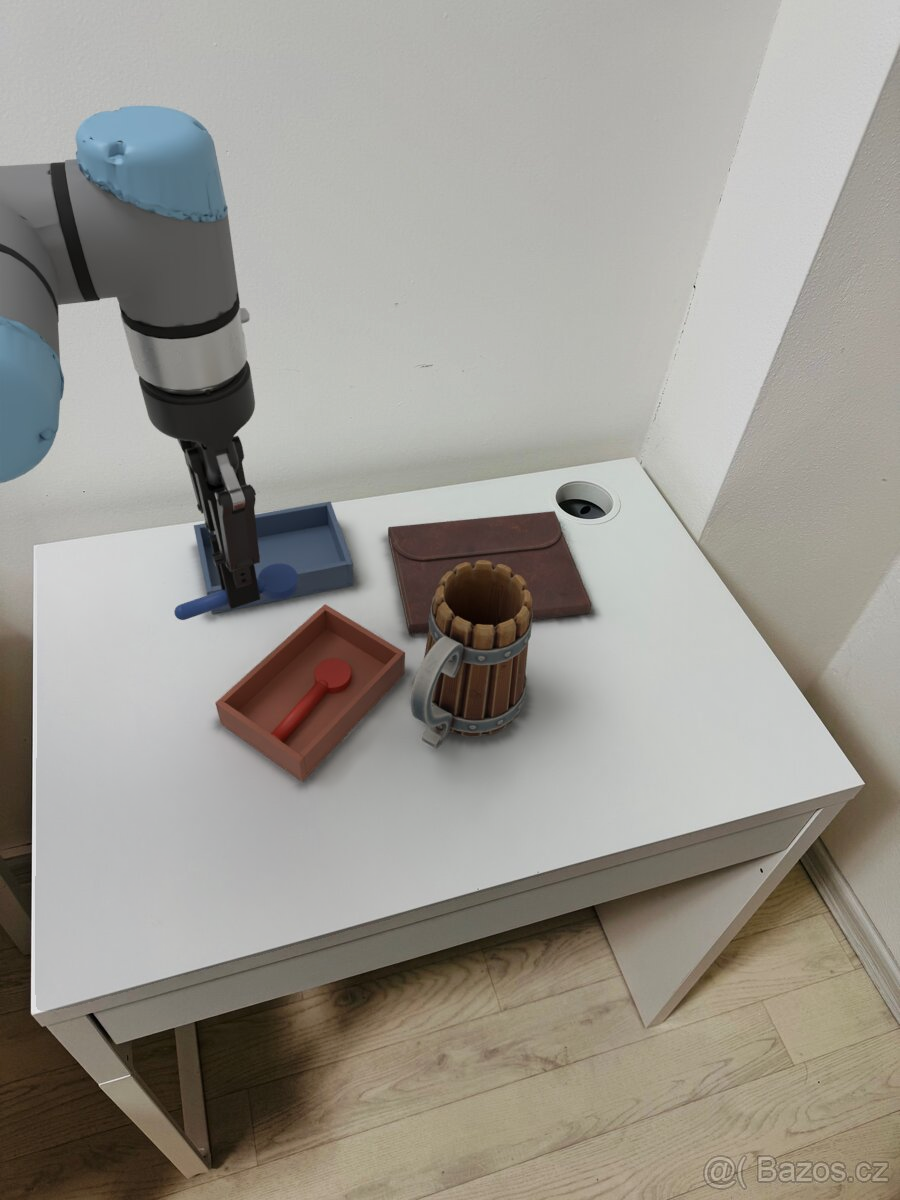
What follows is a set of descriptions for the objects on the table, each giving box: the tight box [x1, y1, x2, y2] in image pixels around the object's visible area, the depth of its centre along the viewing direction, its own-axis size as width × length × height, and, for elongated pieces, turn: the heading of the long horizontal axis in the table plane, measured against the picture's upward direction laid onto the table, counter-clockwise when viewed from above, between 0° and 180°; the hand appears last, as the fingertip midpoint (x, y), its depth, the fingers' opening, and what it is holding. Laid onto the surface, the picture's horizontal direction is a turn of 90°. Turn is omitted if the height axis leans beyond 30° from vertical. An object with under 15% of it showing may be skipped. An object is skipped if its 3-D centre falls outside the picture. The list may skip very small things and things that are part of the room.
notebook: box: [387, 510, 592, 635], centre depth 93 cm, size 15×20×2 cm
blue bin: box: [193, 501, 354, 615], centre depth 91 cm, size 15×10×4 cm
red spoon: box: [271, 658, 352, 742], centre depth 79 cm, size 11×4×1 cm, turn 149°
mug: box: [410, 560, 533, 749], centre depth 75 cm, size 16×11×15 cm
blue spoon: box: [174, 563, 299, 621], centre depth 75 cm, size 11×4×1 cm, turn 118°
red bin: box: [214, 603, 406, 783], centre depth 80 cm, size 15×10×4 cm
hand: (240, 593), depth 75 cm, fingers closed on blue spoon
